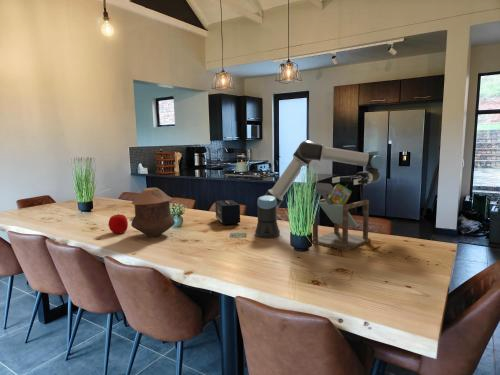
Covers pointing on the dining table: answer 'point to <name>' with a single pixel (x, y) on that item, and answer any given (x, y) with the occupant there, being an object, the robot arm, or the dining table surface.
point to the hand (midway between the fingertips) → (343, 181)
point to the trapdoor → (332, 205)
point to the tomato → (118, 224)
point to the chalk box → (340, 195)
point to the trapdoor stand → (343, 229)
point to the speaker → (228, 212)
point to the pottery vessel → (152, 212)
